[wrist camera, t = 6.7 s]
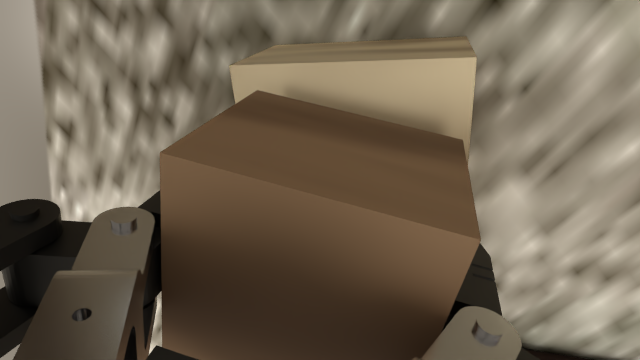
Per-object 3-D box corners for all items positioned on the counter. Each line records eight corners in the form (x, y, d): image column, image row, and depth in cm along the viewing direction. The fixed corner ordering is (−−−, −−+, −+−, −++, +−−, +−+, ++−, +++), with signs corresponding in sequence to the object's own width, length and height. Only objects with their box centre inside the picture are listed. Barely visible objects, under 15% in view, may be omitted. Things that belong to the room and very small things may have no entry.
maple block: (277, 44, 19) (229, 65, 14) (465, 35, 17) (476, 57, 12) (294, 202, 22) (260, 258, 18) (453, 210, 20) (458, 275, 16)
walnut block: (257, 89, 12) (160, 152, 8) (462, 139, 11) (480, 240, 7) (240, 251, 15) (162, 364, 11) (405, 300, 14) (393, 444, 10)
